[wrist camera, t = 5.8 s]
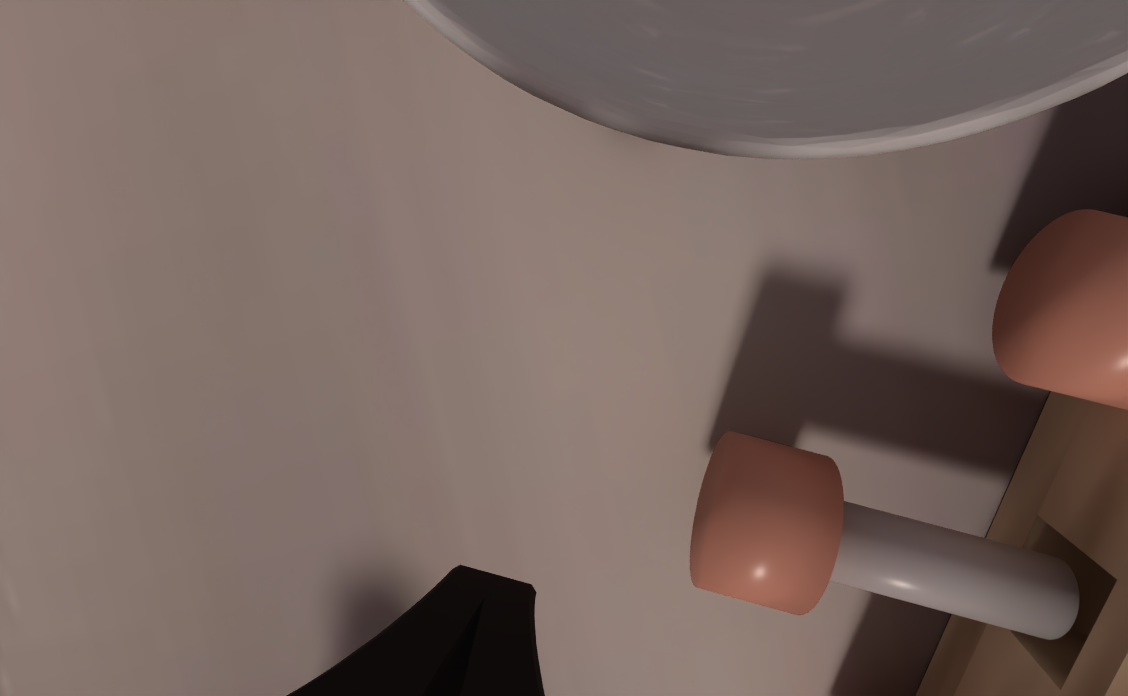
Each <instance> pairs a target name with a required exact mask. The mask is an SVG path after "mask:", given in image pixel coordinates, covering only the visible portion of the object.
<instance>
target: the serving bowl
mask: <svg viewBox="0 0 1128 696" xmlns="http://www.w3.org/2000/svg"><path fill="white" fill-rule="evenodd" d="M403 1H404V2H406V3H407V4H408V5H409V6H410V7H411V8H412V9H413V10H414V11H415V12H416V13H417V14H418V15H419V16H420V17H422V18H423V19H424V20H425V21H426V22H427V23H429V24H430V25H431V26H432V27H433V28H435V29H436V30H437V31H438V32H439V33H440V34H442V35H443V36H444V37H445V38H447V39H448V40H449V41H451V42H452V43H453V44H455V45H456V46H457V47H459V48H460V49H461V50H463V51H464V52H465V53H467V54H468V55H469V56H471V57H472V58H474V59H475V60H477V61H478V62H479V63H481V64H482V65H484V66H485V67H487V68H488V69H490V70H491V71H493V72H494V73H496V74H497V75H499V76H500V77H502V78H503V79H505V80H506V81H508V82H510V83H512V84H514V85H515V86H517V87H519V88H521V89H523V90H524V91H526V92H528V93H530V94H532V95H533V96H536V97H538V98H540V99H542V100H544V101H546V102H548V103H550V104H553V105H555V106H557V107H559V108H562V109H564V110H566V111H568V112H570V113H573V114H575V115H577V116H579V117H581V118H584V119H586V120H589V121H592V122H595V123H597V124H600V125H603V126H606V127H608V128H611V129H614V130H617V131H620V132H624V133H627V134H630V135H633V136H637V137H640V138H643V139H647V140H650V141H655V142H659V143H664V144H668V145H673V146H677V147H682V148H687V149H693V150H698V151H704V152H709V153H715V154H721V155H728V156H740V157H752V158H764V159H825V158H843V157H854V156H864V155H873V154H881V153H888V152H895V151H903V150H908V149H912V148H917V147H922V146H927V145H932V144H936V143H941V142H946V141H951V140H954V139H958V138H962V137H965V136H969V135H972V134H976V133H979V132H982V131H985V130H988V129H992V128H995V127H998V126H1001V125H1004V124H1007V123H1010V122H1014V121H1017V120H1020V119H1023V118H1026V117H1029V116H1031V115H1034V114H1036V113H1039V112H1041V111H1044V110H1046V109H1049V108H1052V107H1054V106H1057V105H1059V104H1062V103H1064V102H1067V101H1070V100H1072V99H1075V98H1077V97H1079V96H1082V95H1084V94H1086V93H1088V92H1091V91H1093V90H1095V89H1097V88H1100V87H1102V86H1103V85H1105V84H1107V83H1109V82H1111V81H1113V80H1115V79H1117V78H1119V77H1121V76H1123V75H1125V74H1127V73H1128V0H403Z"/></svg>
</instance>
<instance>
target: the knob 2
mask: <svg viewBox="0 0 1128 696" xmlns="http://www.w3.org/2000/svg"><path fill="white" fill-rule="evenodd" d="M992 341H993V349H994V354H995V357H996V360H997V362H998V364H999V366H1000V368H1001V369H1002V371H1003V372H1004V373H1005V374H1006V375H1007V376H1008V377H1009V378H1010V379H1012V380H1014V381H1016V382H1018V383H1021V384H1025V385H1029V386H1033V387H1037V388H1041V389H1045V390H1049V391H1053V392H1057V393H1061V394H1065V395H1069V396H1073V397H1077V398H1081V399H1085V400H1089V401H1093V402H1097V403H1101V404H1105V405H1109V406H1113V407H1117V408H1121V409H1125V410H1128V217H1124V216H1119V215H1115V214H1111V213H1106V212H1102V211H1098V210H1092V209H1081V210H1076V211H1072V212H1069V213H1067V214H1064V215H1062V216H1060V217H1059V218H1057V219H1055V220H1054V221H1052V222H1051V223H1049V224H1048V225H1047V226H1045V227H1044V228H1043V229H1042V230H1041V231H1040V232H1038V233H1037V234H1036V235H1035V236H1034V238H1033V239H1032V240H1031V241H1030V242H1029V243H1028V244H1027V245H1026V247H1025V248H1024V249H1023V251H1022V252H1021V253H1020V255H1019V256H1018V258H1017V259H1016V261H1015V262H1014V264H1013V266H1012V267H1011V269H1010V271H1009V273H1008V275H1007V277H1006V279H1005V281H1004V284H1003V286H1002V288H1001V291H1000V294H999V297H998V300H997V304H996V308H995V312H994V318H993V326H992Z"/></svg>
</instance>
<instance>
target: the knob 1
mask: <svg viewBox="0 0 1128 696" xmlns="http://www.w3.org/2000/svg"><path fill="white" fill-rule="evenodd" d="M690 574H691V580H692V583H693V585H694V586H695V587H697V588H701V589H704V590H708V591H711V592H715V593H719V594H722V595H726V596H730V597H733V598H737V599H740V600H744V601H748V602H751V603H755V604H759V605H762V606H766V607H769V608H773V609H777V610H780V611H784V612H788V613H791V614H795V615H804V614H806V613H808V612H809V611H810V610H811V609H813V608H814V606H815V605H816V604H817V603H818V601H819V600H820V598H821V596H822V595H823V593H824V591H825V589H826V587H827V585H828V582H829V581H833V582H837V583H841V584H844V585H848V586H852V587H855V588H859V589H863V590H866V591H870V592H874V593H877V594H881V595H885V596H888V597H892V598H896V599H899V600H903V601H907V602H910V603H914V604H918V605H921V606H925V607H929V608H933V609H936V610H940V611H944V612H947V613H951V614H955V615H958V616H962V617H966V618H969V619H973V620H977V621H980V622H984V623H988V624H991V625H995V626H999V627H1002V628H1006V629H1010V630H1014V631H1017V632H1021V633H1025V634H1028V635H1032V636H1036V637H1039V638H1043V639H1047V640H1054V639H1058V638H1060V637H1062V636H1063V635H1065V634H1066V633H1067V632H1068V631H1069V630H1070V628H1071V627H1072V625H1073V624H1074V622H1075V619H1076V617H1077V613H1078V609H1079V588H1078V583H1077V580H1076V578H1075V575H1074V573H1073V571H1072V570H1071V568H1070V567H1069V566H1068V565H1067V564H1066V563H1065V562H1064V561H1063V560H1061V559H1059V558H1057V557H1054V556H1050V555H1046V554H1043V553H1039V552H1035V551H1031V550H1028V549H1024V548H1020V547H1016V546H1012V545H1009V544H1005V543H1001V542H997V541H993V540H990V539H986V538H982V537H978V536H974V535H971V534H967V533H963V532H959V531H956V530H952V529H948V528H944V527H940V526H937V525H933V524H929V523H925V522H921V521H918V520H914V519H910V518H906V517H902V516H899V515H895V514H891V513H887V512H884V511H880V510H876V509H872V508H868V507H865V506H861V505H857V504H853V503H849V502H846V501H844V497H843V486H842V480H841V476H840V472H839V470H838V467H837V465H836V464H835V462H834V461H833V460H832V459H831V458H830V457H828V456H825V455H821V454H817V453H814V452H810V451H806V450H802V449H798V448H794V447H790V446H787V445H783V444H779V443H775V442H771V441H767V440H764V439H760V438H756V437H752V436H748V435H744V434H740V433H737V432H733V431H727V432H725V433H724V434H723V435H722V437H721V438H720V440H719V441H718V443H717V445H716V447H715V449H714V451H713V453H712V456H711V458H710V461H709V464H708V466H707V469H706V472H705V475H704V479H703V482H702V486H701V490H700V493H699V498H698V502H697V507H696V511H695V517H694V523H693V529H692V536H691V546H690Z"/></svg>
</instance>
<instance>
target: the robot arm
mask: <svg viewBox="0 0 1128 696" xmlns="http://www.w3.org/2000/svg"><path fill="white" fill-rule="evenodd" d="M535 597H536V591H535V589H534V588H533V586H532V584H528V583H524V582H521V581H517V580H514V579H510V578H506V577H503V576H499V575H495V574H492V573H488V572H485V571H481V570H477V569H474V568H470V567H466V566H463V565H459V566H457V567H455V568H453V569H452V570H451V571H450V572H449V573H448V574H447V575H446V576H445V577H444V578H443V579H442V580H441V581H440V582H439V583H438V584H437V585H436V586H435V587H434V588H433V589H432V590H431V591H430V592H428V593H427V594H426V595H425V596H424V597H423V598H422V599H421V600H419V601H418V602H417V603H416V604H415V605H414V606H413V607H411V608H410V609H409V610H408V611H407V612H405V613H404V614H403V615H402V616H400V617H399V618H398V619H397V620H396V621H394V622H393V623H392V624H391V625H389V626H388V627H387V628H386V629H384V630H383V631H382V632H381V633H379V634H378V635H377V636H375V637H374V638H373V639H371V640H370V641H369V642H367V643H366V644H364V645H363V646H362V647H360V648H359V649H357V650H356V651H355V652H353V653H352V654H350V655H349V656H348V657H346V658H345V659H344V660H342V661H341V662H339V663H338V664H336V665H335V666H334V667H332V668H331V669H329V670H327V671H326V672H324V673H323V674H321V675H320V676H318V677H317V678H315V679H314V680H312V681H310V682H309V683H307V684H306V685H304V686H302V687H301V688H299V689H297V690H295V691H294V692H292V693H290V694H289V695H287V696H545V694H544V689H543V684H542V678H541V672H540V666H539V660H538V653H537V645H536V634H535V617H534V609H535Z"/></svg>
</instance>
